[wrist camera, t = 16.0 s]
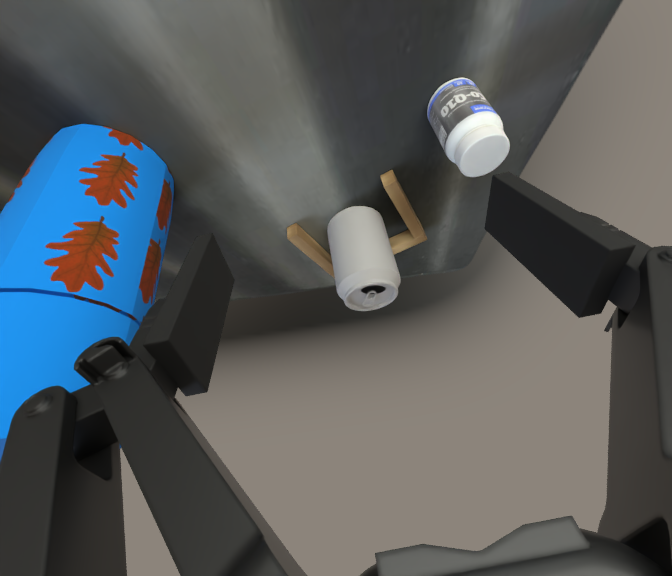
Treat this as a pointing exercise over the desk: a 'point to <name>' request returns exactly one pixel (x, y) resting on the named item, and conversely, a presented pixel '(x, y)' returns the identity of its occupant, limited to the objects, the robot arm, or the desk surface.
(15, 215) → the thermos
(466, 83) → the pill bottle
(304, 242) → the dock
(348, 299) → the can
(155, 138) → the desk surface
